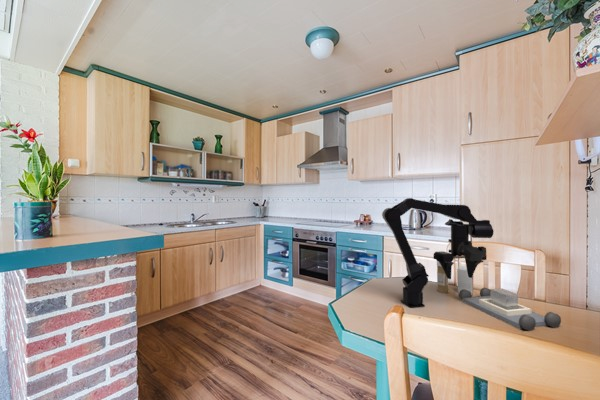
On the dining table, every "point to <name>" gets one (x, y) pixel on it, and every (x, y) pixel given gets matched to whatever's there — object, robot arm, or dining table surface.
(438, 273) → the sprinkles bottle
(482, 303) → the chassis
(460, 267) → the small box
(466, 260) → the robot arm
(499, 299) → the block
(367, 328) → the dining table surface
